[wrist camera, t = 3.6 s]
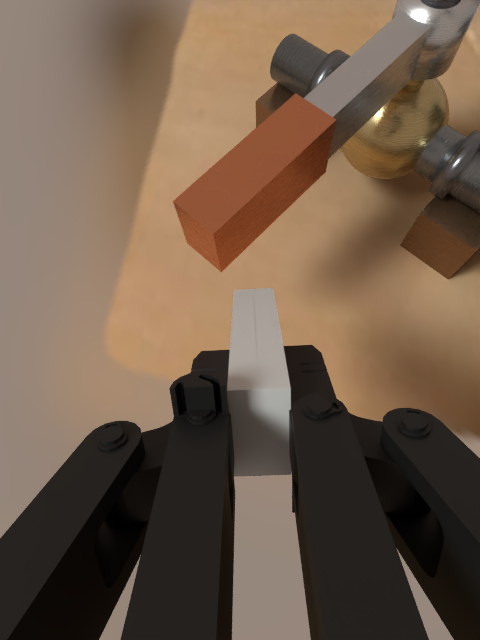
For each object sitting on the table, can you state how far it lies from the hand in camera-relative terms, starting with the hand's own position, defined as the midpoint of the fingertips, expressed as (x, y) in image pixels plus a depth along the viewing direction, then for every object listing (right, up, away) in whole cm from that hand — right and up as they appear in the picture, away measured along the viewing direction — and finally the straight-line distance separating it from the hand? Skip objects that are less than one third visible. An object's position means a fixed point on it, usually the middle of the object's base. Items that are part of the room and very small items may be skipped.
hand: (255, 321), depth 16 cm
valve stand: (+9, +11, +15) cm, 21 cm away
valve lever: (+4, +9, +5) cm, 11 cm away
